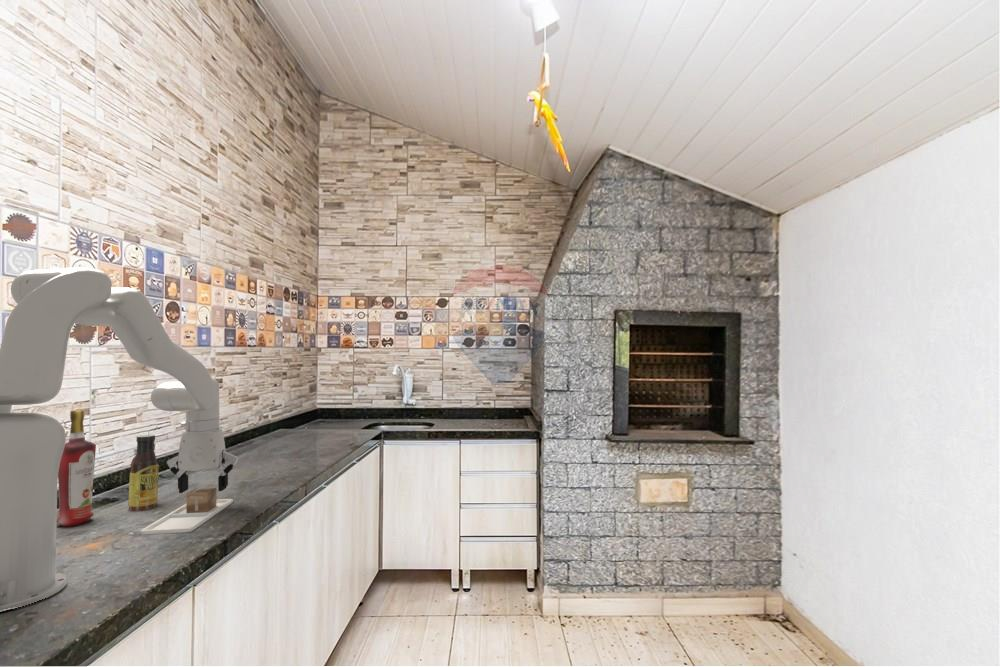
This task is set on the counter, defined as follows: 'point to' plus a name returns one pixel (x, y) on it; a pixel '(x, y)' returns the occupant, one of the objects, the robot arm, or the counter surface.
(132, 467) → the sauce bottle
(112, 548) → the counter surface
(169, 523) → the tray
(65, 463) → the liquor
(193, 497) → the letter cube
